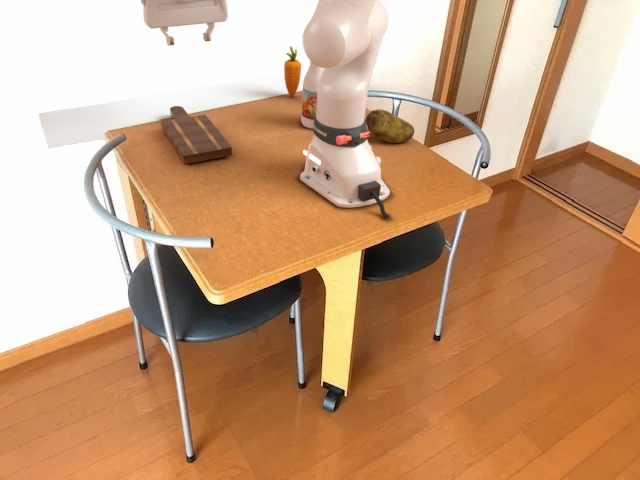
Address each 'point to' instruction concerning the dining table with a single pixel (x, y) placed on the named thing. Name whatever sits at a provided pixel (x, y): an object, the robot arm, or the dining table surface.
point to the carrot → (292, 73)
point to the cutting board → (194, 137)
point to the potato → (389, 126)
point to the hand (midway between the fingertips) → (189, 42)
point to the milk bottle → (310, 94)
